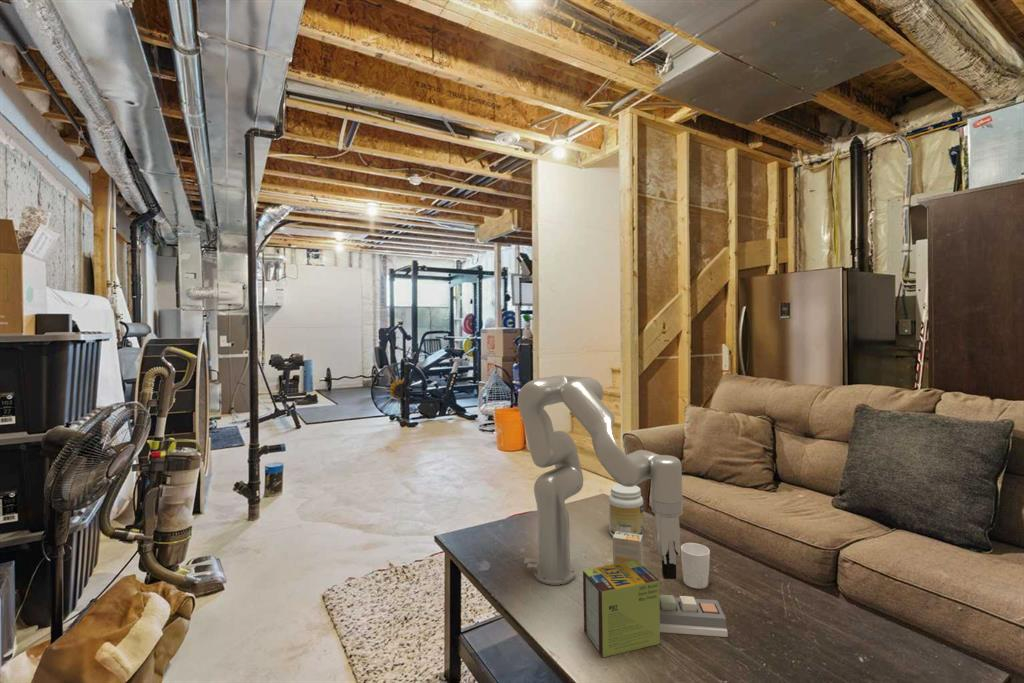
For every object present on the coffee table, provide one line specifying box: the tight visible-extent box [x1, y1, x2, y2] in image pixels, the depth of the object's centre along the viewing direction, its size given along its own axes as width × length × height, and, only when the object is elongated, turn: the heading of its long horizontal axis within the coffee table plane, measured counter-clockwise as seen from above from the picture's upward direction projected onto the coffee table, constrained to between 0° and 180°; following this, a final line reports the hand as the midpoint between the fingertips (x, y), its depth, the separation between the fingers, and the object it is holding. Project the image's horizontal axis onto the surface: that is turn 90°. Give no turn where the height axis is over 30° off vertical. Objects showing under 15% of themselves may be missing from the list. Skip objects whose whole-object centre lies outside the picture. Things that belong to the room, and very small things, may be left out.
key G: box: [700, 603, 718, 614], centre depth 119 cm, size 3×3×2 cm
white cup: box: [680, 542, 711, 590], centre depth 137 cm, size 8×8×10 cm
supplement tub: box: [608, 483, 645, 537], centre depth 169 cm, size 12×12×17 cm
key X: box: [679, 595, 697, 612], centre depth 119 cm, size 3×3×2 cm
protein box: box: [582, 560, 661, 658], centre depth 114 cm, size 10×15×16 cm
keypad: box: [659, 596, 729, 638], centre depth 120 cm, size 16×10×4 cm, turn 81°
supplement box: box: [612, 531, 644, 566], centre depth 140 cm, size 8×5×13 cm, turn 65°
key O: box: [659, 594, 676, 611], centre depth 120 cm, size 3×3×2 cm
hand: (669, 577), depth 120 cm, fingers closed
